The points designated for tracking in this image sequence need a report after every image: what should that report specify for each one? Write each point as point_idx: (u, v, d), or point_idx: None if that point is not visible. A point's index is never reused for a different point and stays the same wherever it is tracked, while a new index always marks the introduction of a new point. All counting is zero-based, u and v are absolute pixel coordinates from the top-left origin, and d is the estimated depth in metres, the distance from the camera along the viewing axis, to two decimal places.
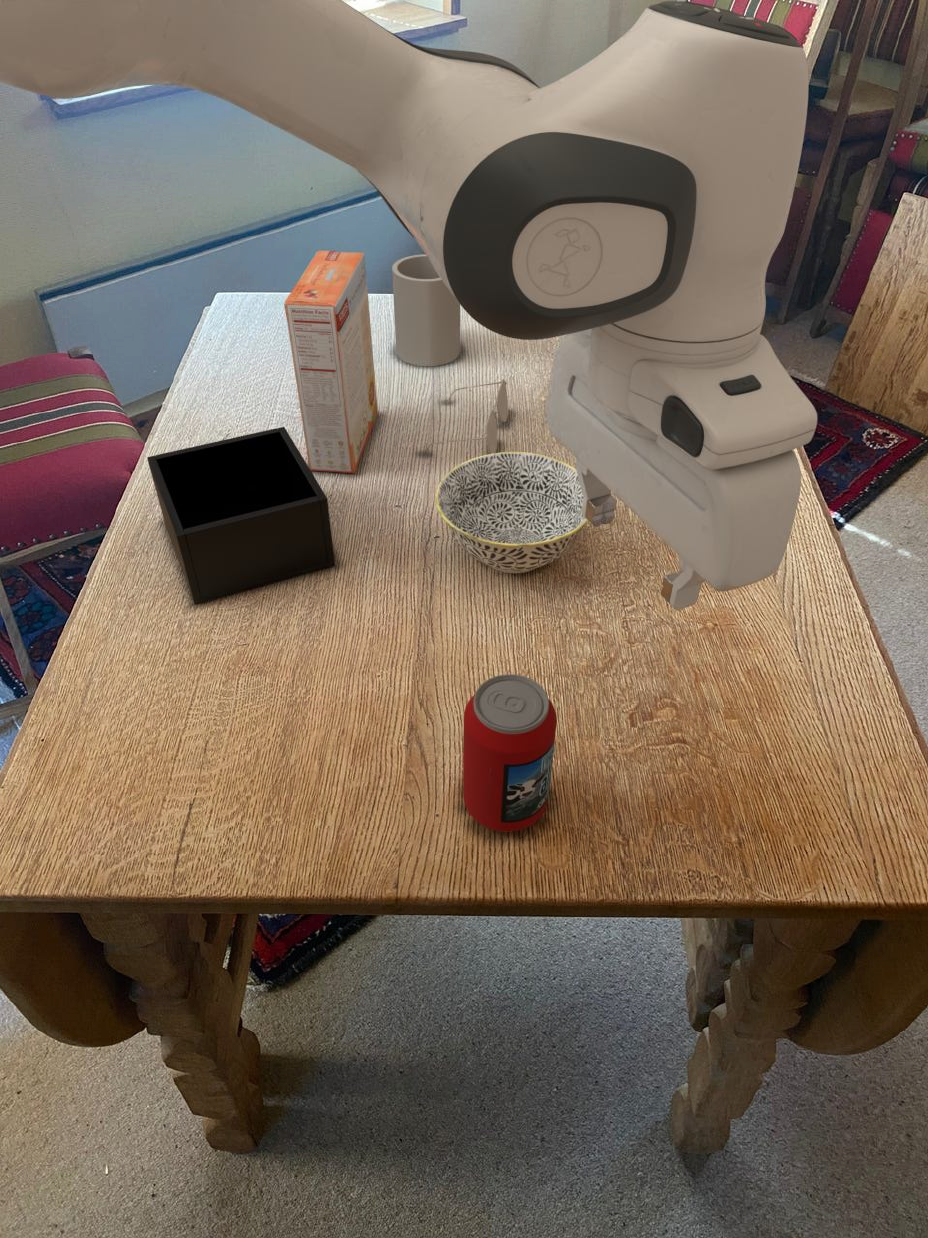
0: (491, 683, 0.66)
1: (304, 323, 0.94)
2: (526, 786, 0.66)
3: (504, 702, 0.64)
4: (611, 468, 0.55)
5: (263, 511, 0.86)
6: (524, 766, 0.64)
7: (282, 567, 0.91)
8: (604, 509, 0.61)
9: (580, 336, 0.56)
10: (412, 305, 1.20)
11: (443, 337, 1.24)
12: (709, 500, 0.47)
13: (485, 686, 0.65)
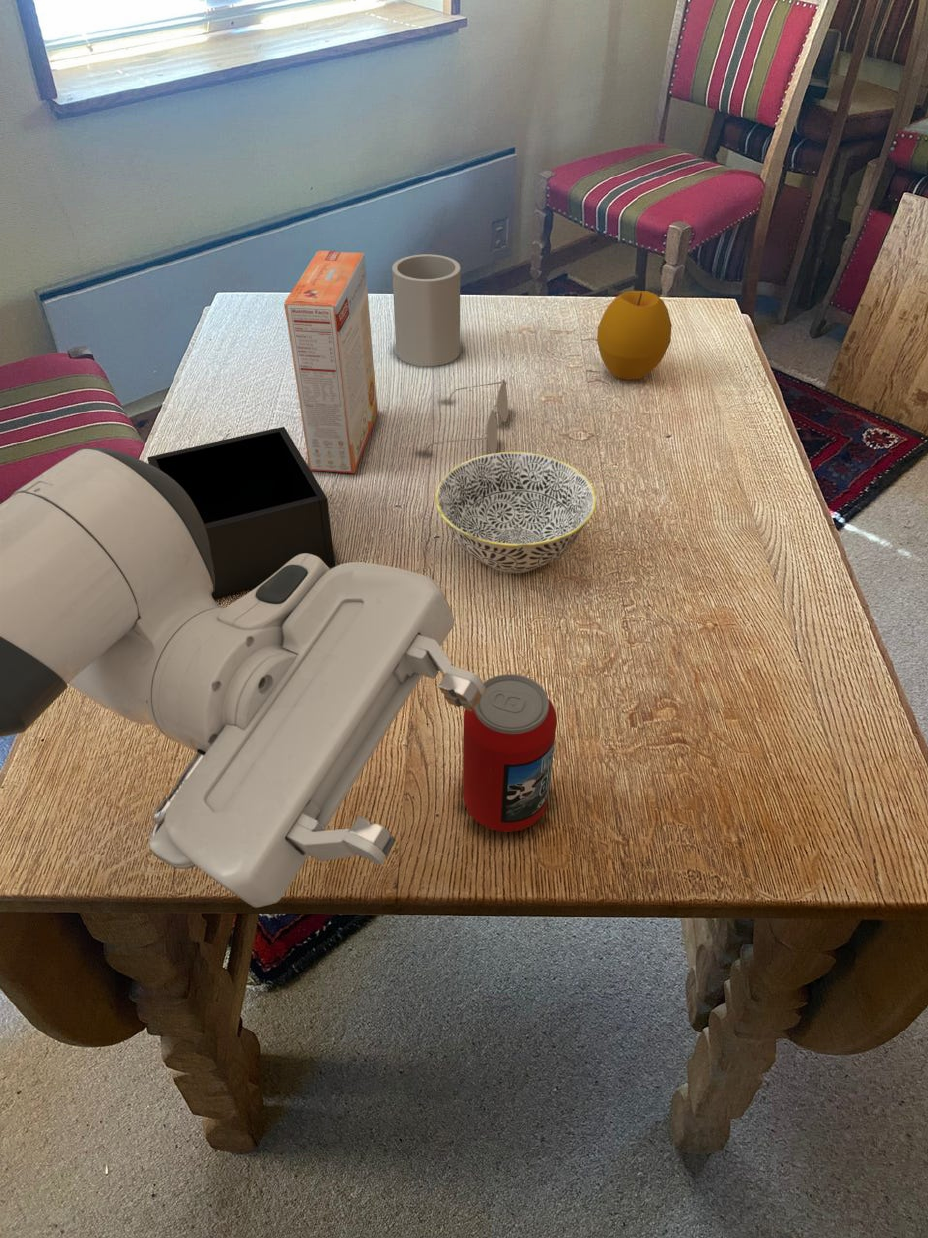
0: (491, 683, 0.66)
1: (304, 323, 0.94)
2: (526, 786, 0.66)
3: (504, 702, 0.64)
4: (310, 734, 0.48)
5: (263, 511, 0.86)
6: (524, 766, 0.64)
7: None
8: None
9: None
10: (412, 305, 1.20)
11: (443, 337, 1.24)
12: (354, 594, 0.53)
13: (485, 686, 0.65)
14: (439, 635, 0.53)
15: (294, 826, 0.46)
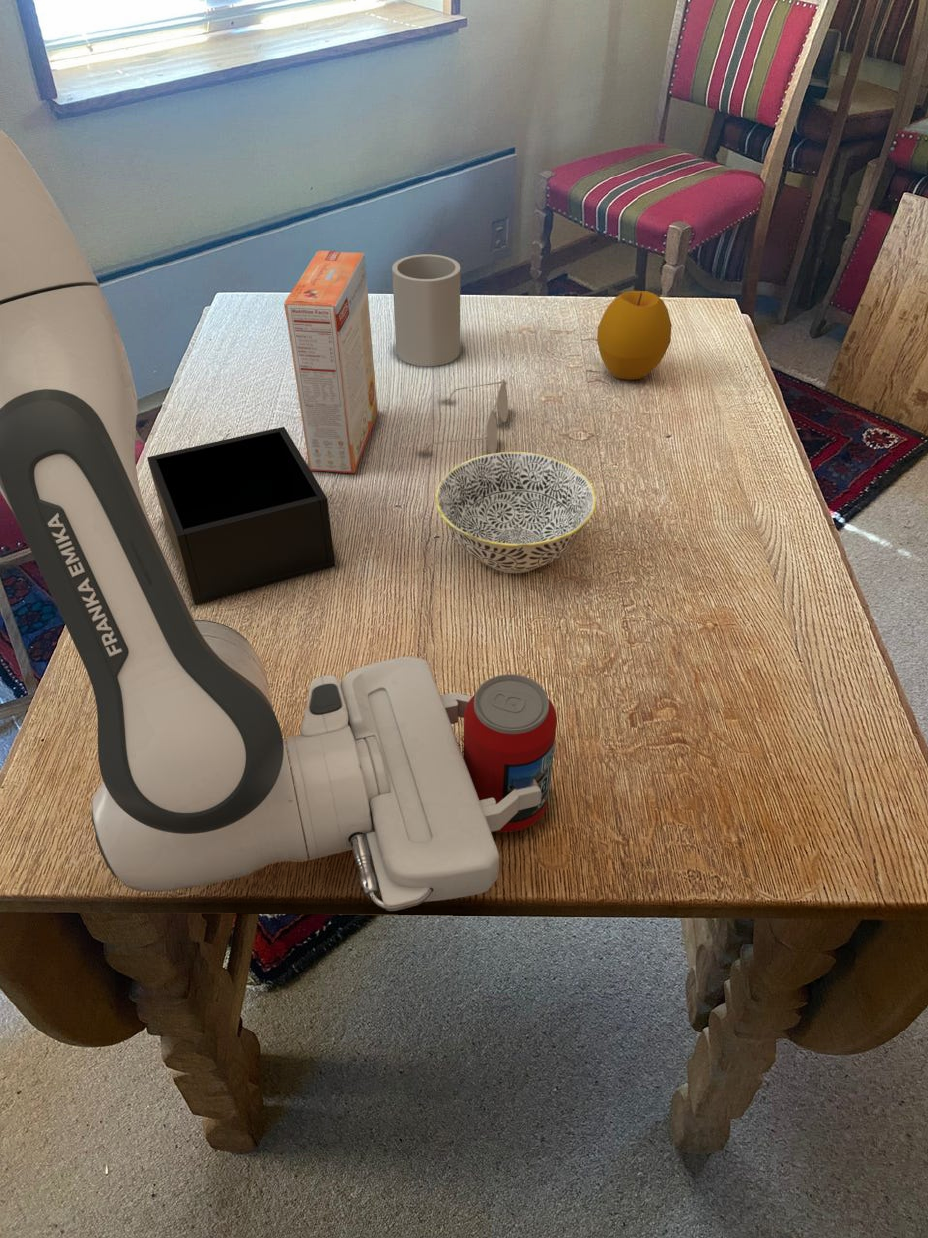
0: (491, 683, 0.66)
1: (304, 323, 0.94)
2: None
3: (504, 702, 0.64)
4: (441, 765, 0.64)
5: (263, 511, 0.86)
6: (525, 766, 0.64)
7: (282, 567, 0.91)
8: None
9: (385, 868, 0.59)
10: (412, 305, 1.20)
11: (443, 337, 1.24)
12: (372, 687, 0.70)
13: (485, 686, 0.65)
14: None
15: (482, 809, 0.63)
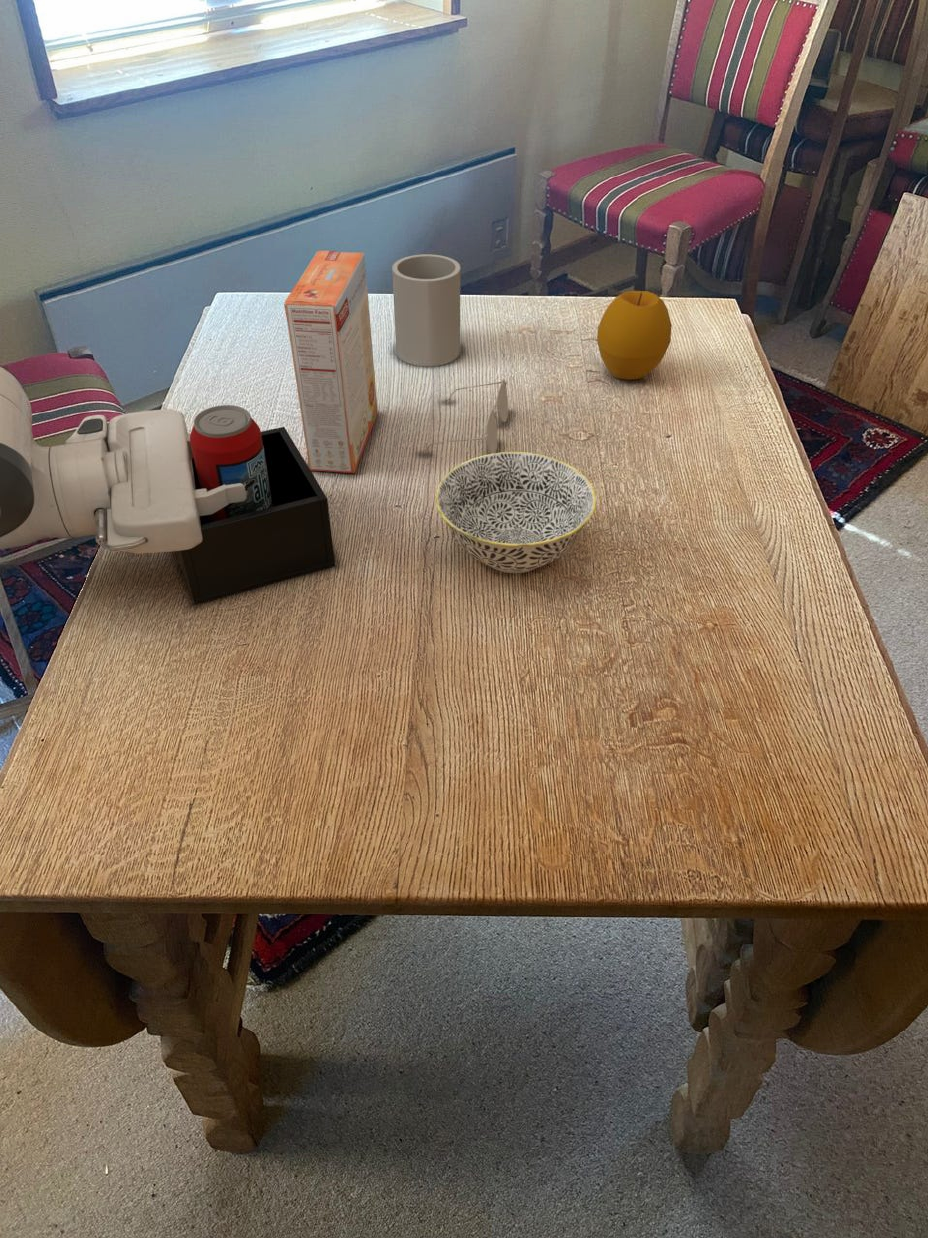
0: (212, 410, 0.88)
1: (304, 323, 0.94)
2: None
3: (217, 420, 0.86)
4: (170, 468, 0.86)
5: (263, 511, 0.86)
6: (231, 466, 0.86)
7: (282, 567, 0.91)
8: None
9: None
10: (412, 305, 1.20)
11: (443, 337, 1.24)
12: (134, 426, 0.92)
13: (207, 412, 0.87)
14: None
15: (195, 494, 0.85)
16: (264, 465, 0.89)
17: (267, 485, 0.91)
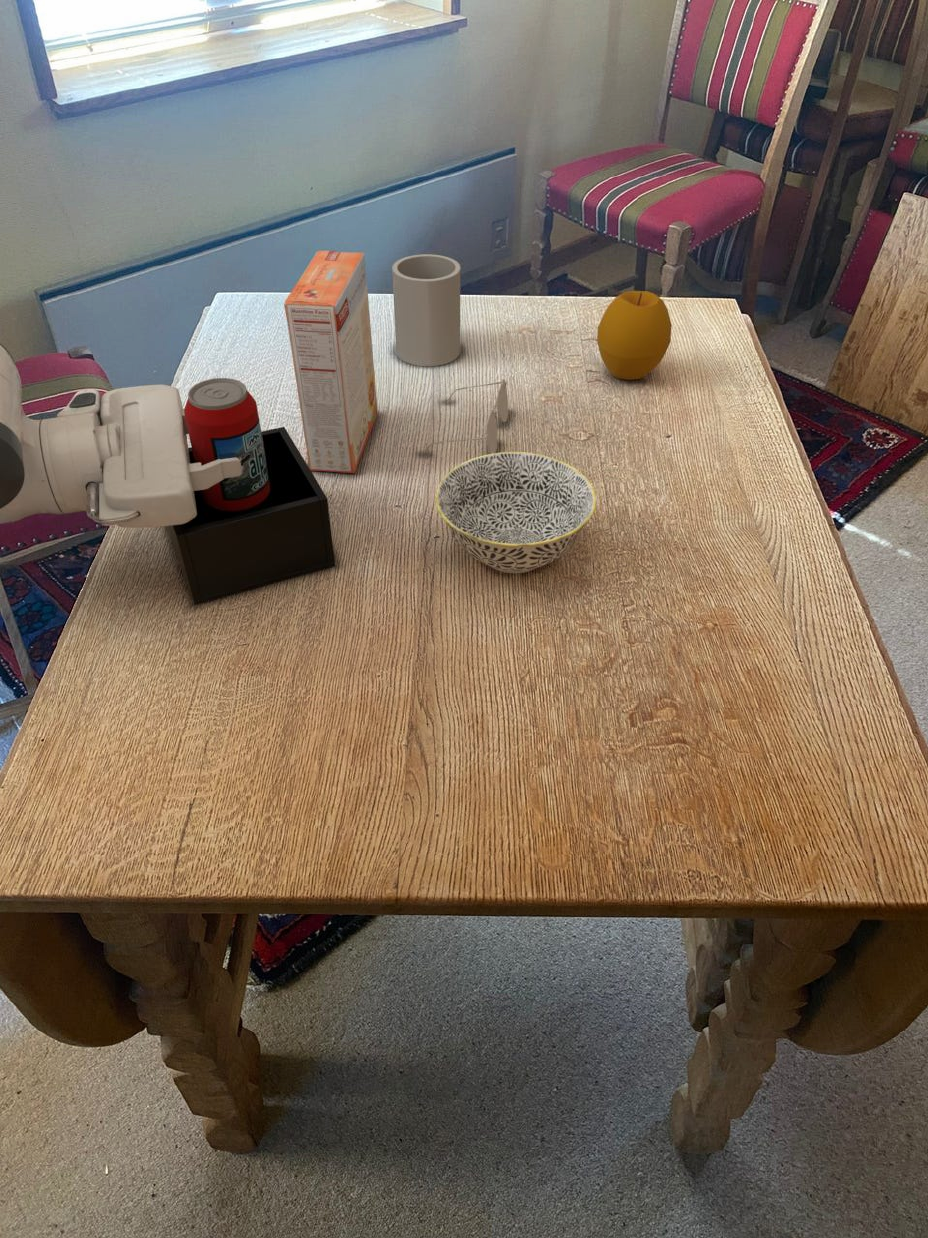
0: (207, 383, 0.86)
1: (304, 323, 0.94)
2: None
3: (213, 393, 0.84)
4: (164, 442, 0.84)
5: (263, 511, 0.86)
6: (227, 440, 0.84)
7: (282, 567, 0.91)
8: None
9: (105, 498, 0.79)
10: (412, 305, 1.20)
11: (443, 337, 1.24)
12: (128, 400, 0.90)
13: (202, 385, 0.85)
14: None
15: (189, 467, 0.83)
16: (260, 440, 0.87)
17: (263, 461, 0.89)
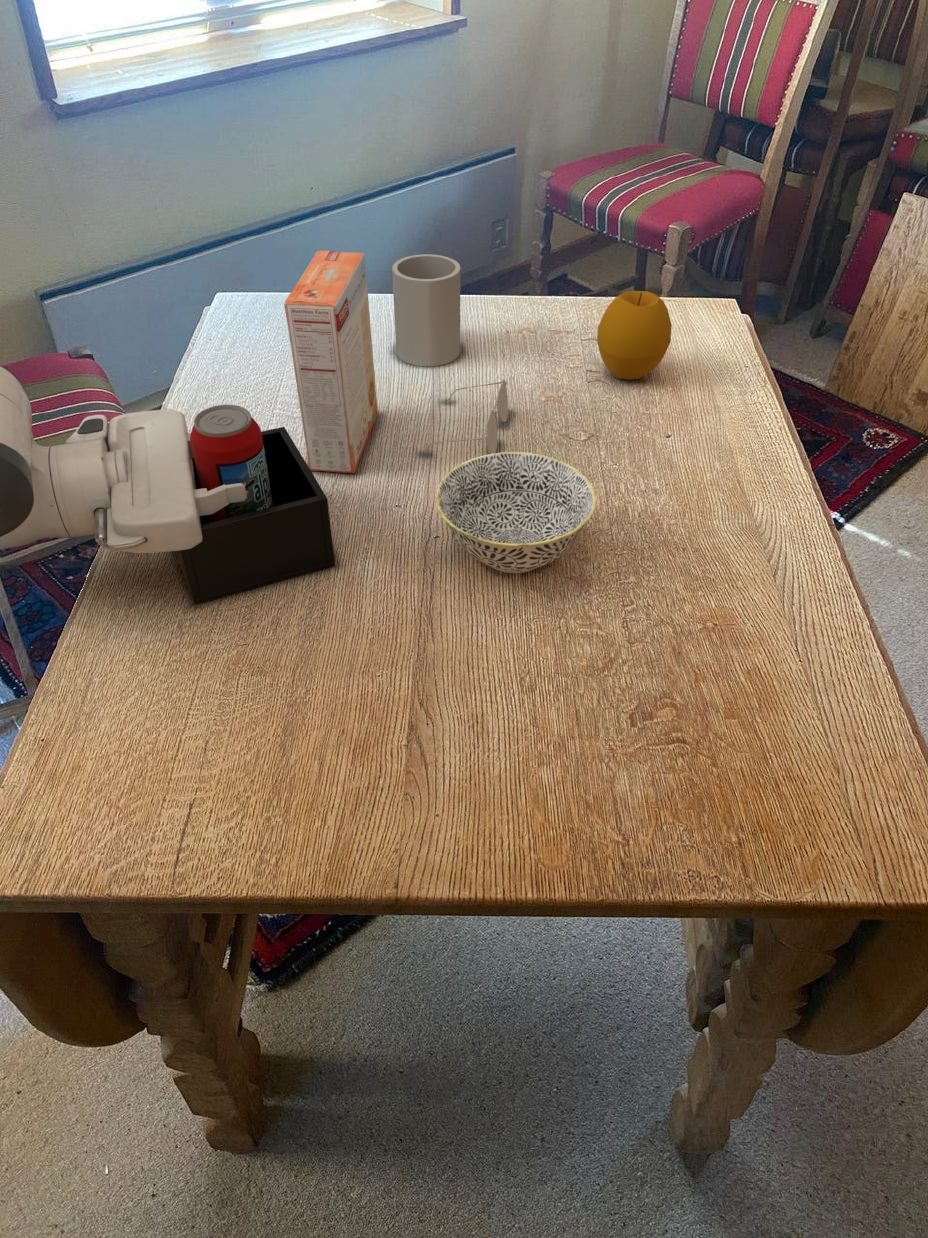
0: (213, 410, 0.88)
1: (304, 323, 0.94)
2: None
3: (218, 420, 0.86)
4: (170, 468, 0.86)
5: (263, 511, 0.86)
6: (232, 466, 0.86)
7: (282, 567, 0.91)
8: None
9: (113, 524, 0.81)
10: (412, 305, 1.20)
11: (443, 337, 1.24)
12: (134, 426, 0.92)
13: (207, 411, 0.87)
14: None
15: (195, 493, 0.84)
16: (264, 465, 0.89)
17: (267, 485, 0.91)
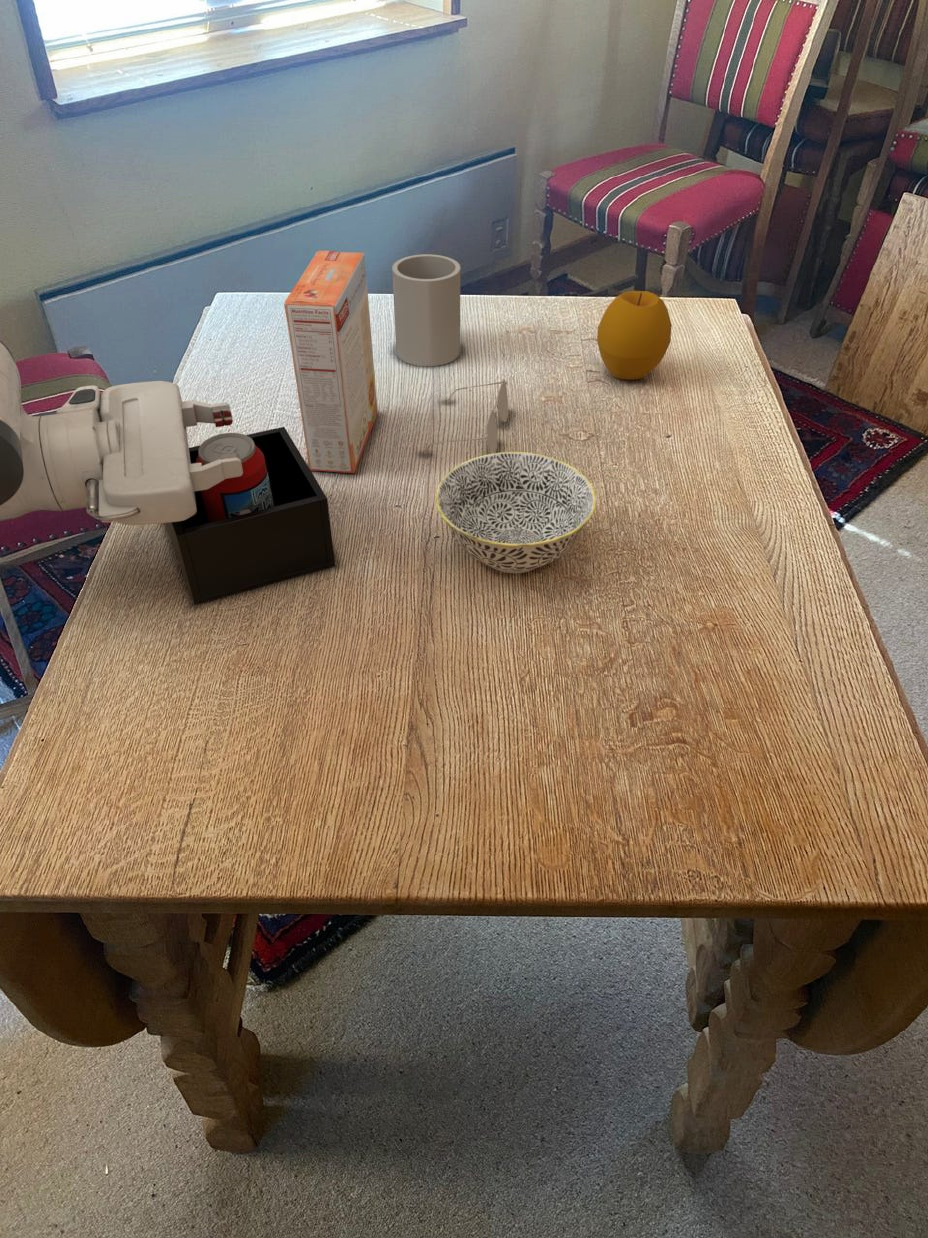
0: (217, 438, 0.89)
1: (304, 323, 0.94)
2: None
3: (222, 449, 0.87)
4: (164, 438, 0.84)
5: (263, 511, 0.86)
6: (236, 495, 0.87)
7: (282, 567, 0.91)
8: None
9: (104, 495, 0.79)
10: (412, 305, 1.20)
11: (443, 337, 1.24)
12: (127, 397, 0.90)
13: (212, 440, 0.88)
14: None
15: (189, 468, 0.82)
16: (269, 491, 0.90)
17: None
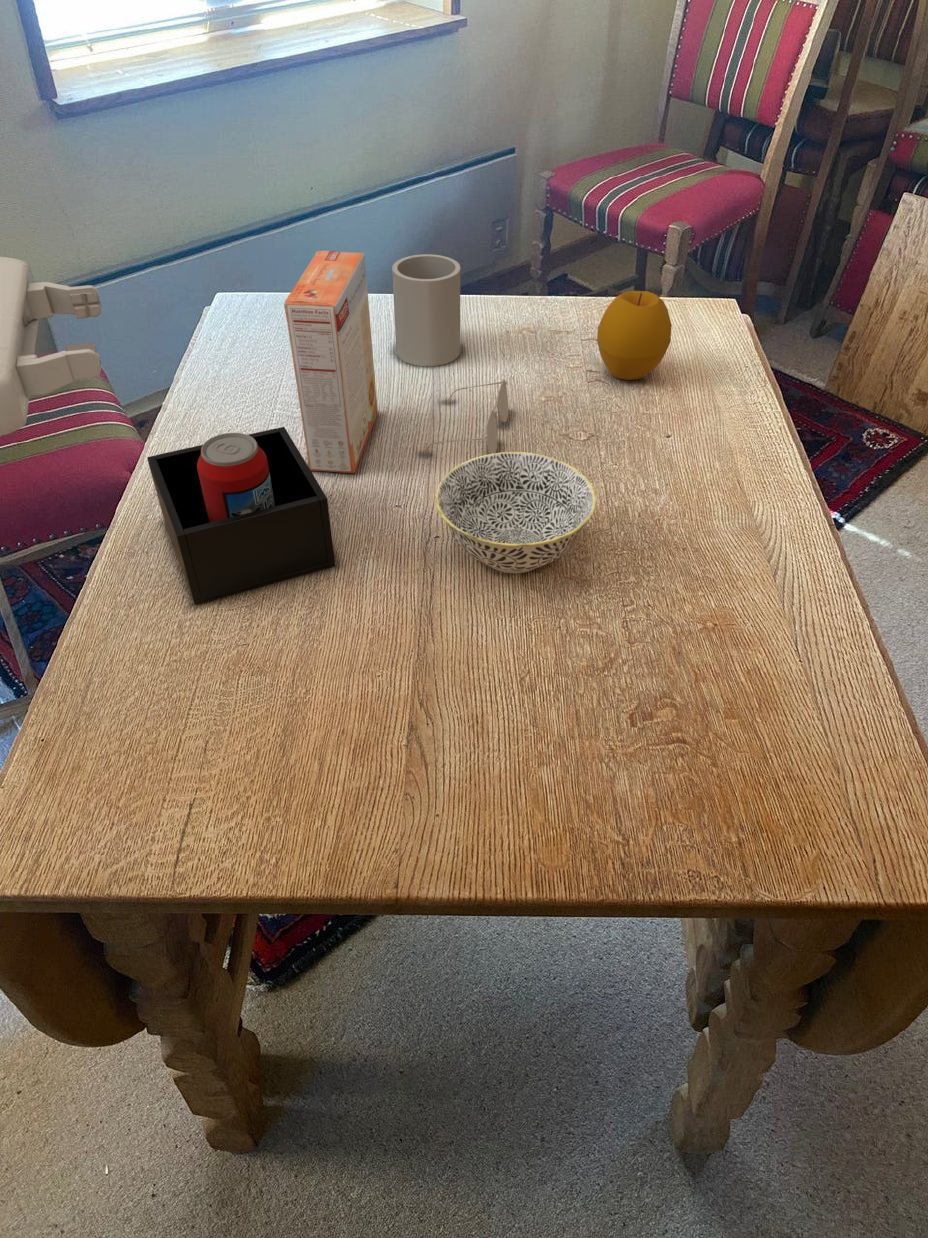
0: (219, 438, 0.89)
1: (304, 323, 0.94)
2: None
3: (224, 448, 0.87)
4: None
5: (263, 511, 0.86)
6: (238, 494, 0.87)
7: (282, 567, 0.91)
8: None
9: None
10: (412, 305, 1.20)
11: (443, 337, 1.24)
12: None
13: (214, 439, 0.88)
14: None
15: (17, 360, 0.57)
16: (270, 492, 0.90)
17: None
